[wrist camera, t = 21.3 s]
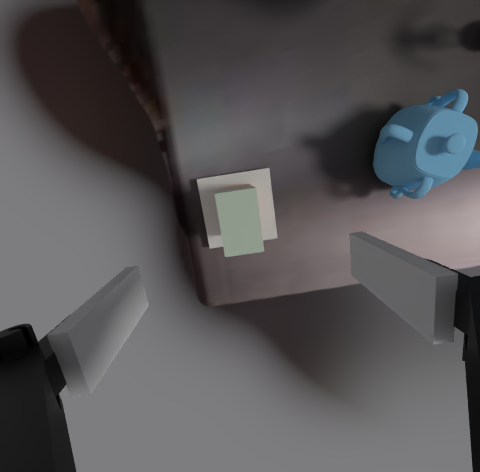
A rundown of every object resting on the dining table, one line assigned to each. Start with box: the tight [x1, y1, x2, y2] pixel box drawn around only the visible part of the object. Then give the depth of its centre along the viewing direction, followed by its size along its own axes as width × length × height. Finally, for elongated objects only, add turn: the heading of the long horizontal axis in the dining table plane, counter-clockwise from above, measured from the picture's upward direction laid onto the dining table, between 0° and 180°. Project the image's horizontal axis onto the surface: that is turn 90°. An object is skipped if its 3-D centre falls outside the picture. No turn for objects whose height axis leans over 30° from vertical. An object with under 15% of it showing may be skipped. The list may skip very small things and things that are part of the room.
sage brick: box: [215, 186, 264, 257], centre depth 33 cm, size 8×5×6 cm, turn 8°
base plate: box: [197, 168, 277, 248], centre depth 42 cm, size 12×12×1 cm
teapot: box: [372, 89, 480, 199], centre depth 36 cm, size 13×14×11 cm
